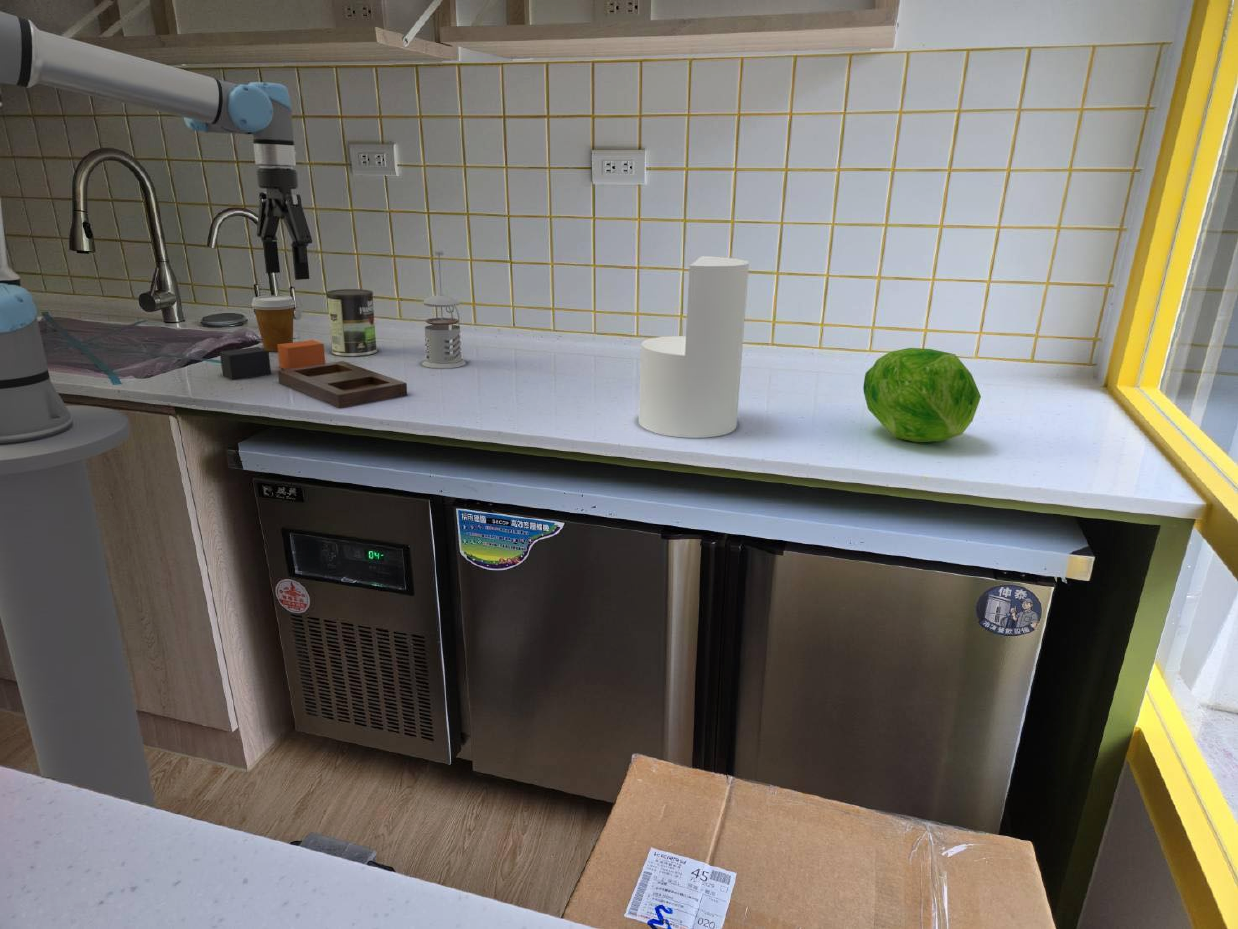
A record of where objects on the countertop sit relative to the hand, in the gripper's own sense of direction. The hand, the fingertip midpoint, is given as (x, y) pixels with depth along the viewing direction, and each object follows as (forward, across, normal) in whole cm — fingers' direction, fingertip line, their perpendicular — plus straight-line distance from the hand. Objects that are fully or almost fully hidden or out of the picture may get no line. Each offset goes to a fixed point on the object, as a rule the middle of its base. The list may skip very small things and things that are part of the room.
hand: (287, 276), depth 171 cm
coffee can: (+19, +7, -17) cm, 27 cm away
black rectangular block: (+20, 0, +11) cm, 22 cm away
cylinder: (+19, -83, -32) cm, 91 cm away
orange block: (+19, 0, -1) cm, 19 cm away
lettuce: (+19, -114, -55) cm, 128 cm away
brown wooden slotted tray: (+19, -23, +2) cm, 30 cm away
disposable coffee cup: (+20, +21, -5) cm, 29 cm away
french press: (+19, -16, -27) cm, 37 cm away
